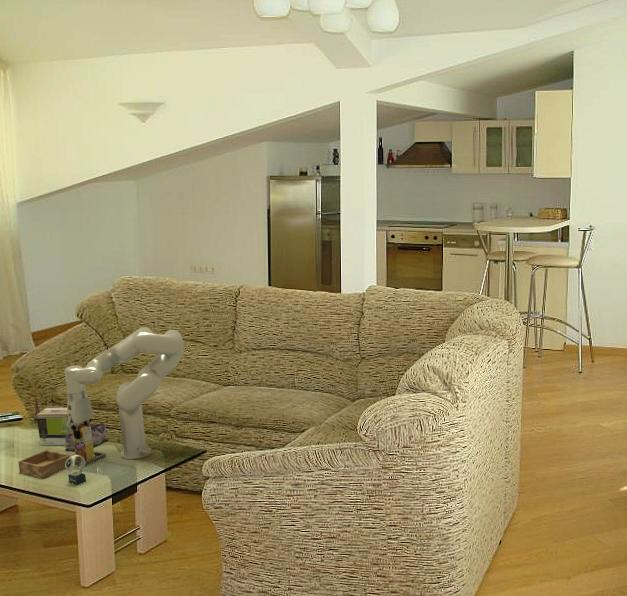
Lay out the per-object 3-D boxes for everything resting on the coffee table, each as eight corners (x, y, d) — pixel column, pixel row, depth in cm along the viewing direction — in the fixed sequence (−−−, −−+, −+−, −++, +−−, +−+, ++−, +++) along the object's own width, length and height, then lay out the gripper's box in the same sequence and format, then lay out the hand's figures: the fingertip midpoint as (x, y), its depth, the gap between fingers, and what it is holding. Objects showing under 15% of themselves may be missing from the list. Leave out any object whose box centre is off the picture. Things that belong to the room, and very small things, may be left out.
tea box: (80, 438, 426) (77, 406, 423) (70, 446, 416) (67, 414, 413) (50, 437, 429) (46, 406, 426) (39, 445, 419) (35, 413, 416)
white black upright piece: (64, 483, 372) (61, 457, 370) (82, 477, 378) (79, 451, 376) (72, 487, 368) (69, 460, 366) (90, 480, 374) (87, 454, 372)
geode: (96, 436, 427) (97, 415, 425) (113, 443, 421) (114, 422, 418) (59, 448, 412) (60, 427, 409) (76, 456, 405) (76, 434, 402)
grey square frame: (105, 457, 399) (105, 453, 399) (83, 467, 389) (83, 463, 388) (85, 452, 406) (84, 449, 406) (62, 462, 396) (62, 459, 395)
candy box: (74, 459, 399) (70, 424, 396) (83, 456, 402) (79, 422, 399) (86, 463, 393) (82, 428, 390) (95, 460, 396) (91, 425, 393)
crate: (71, 466, 391) (69, 454, 390) (44, 478, 379) (42, 467, 378) (47, 461, 399) (45, 449, 398) (19, 473, 387) (18, 461, 386)
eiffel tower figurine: (57, 419, 456) (54, 393, 454) (40, 425, 449) (37, 398, 446) (39, 415, 466) (35, 389, 463) (21, 421, 458) (18, 394, 455)
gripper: (68, 402, 383) (73, 444, 386) (98, 390, 397) (103, 431, 400) (55, 400, 387) (60, 442, 390) (85, 388, 401) (90, 429, 404)
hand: (82, 436), depth 395 cm, fingers closed on candy box, 4 cm apart
